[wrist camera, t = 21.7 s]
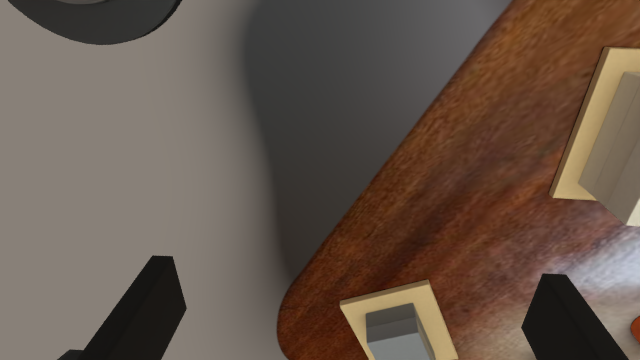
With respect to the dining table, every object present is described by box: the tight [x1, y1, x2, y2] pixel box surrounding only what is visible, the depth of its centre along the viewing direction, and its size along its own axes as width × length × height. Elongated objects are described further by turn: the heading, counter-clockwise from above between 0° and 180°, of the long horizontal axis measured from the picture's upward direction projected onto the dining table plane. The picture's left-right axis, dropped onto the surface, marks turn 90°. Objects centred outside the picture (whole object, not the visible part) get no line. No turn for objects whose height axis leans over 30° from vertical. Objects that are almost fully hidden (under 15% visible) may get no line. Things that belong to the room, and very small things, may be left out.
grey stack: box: [340, 279, 458, 360], centre depth 51 cm, size 16×13×6 cm
